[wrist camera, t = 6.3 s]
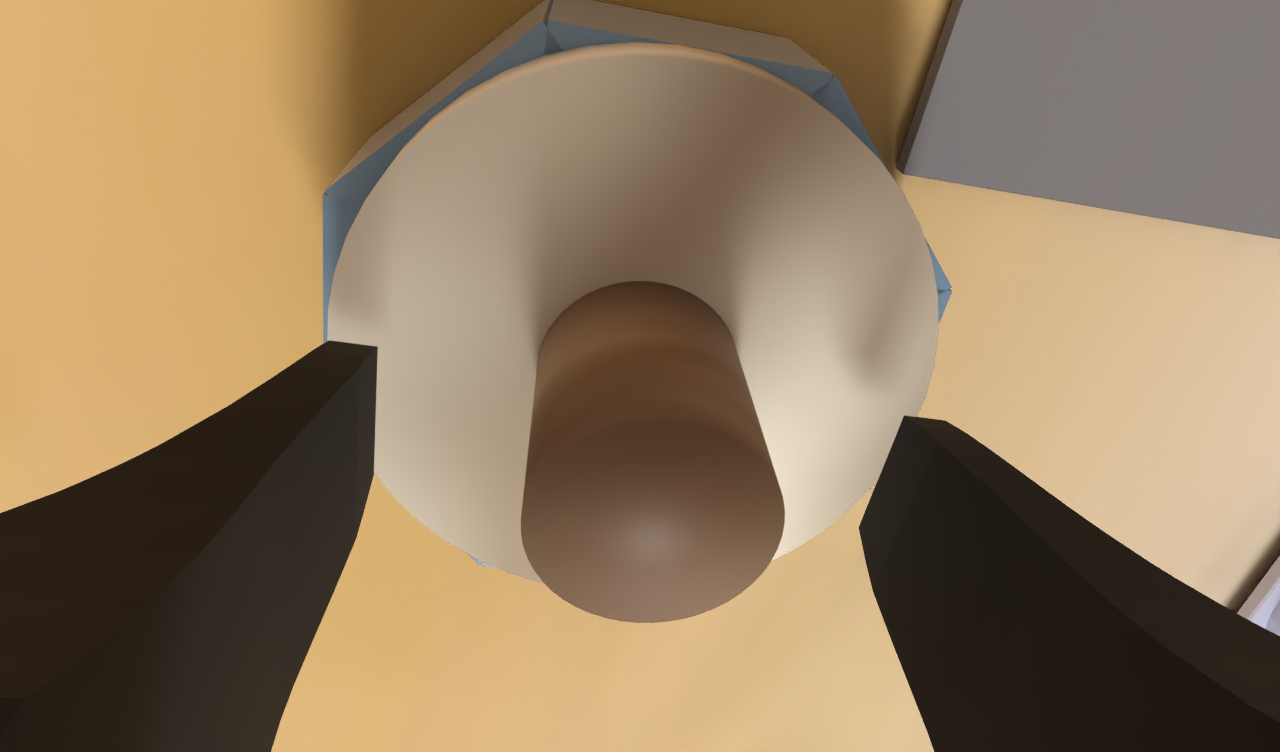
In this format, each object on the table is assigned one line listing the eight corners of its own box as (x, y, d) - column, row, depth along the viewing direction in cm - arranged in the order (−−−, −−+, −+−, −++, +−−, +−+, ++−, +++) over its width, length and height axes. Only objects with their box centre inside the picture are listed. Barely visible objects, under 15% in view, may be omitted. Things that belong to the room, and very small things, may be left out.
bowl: (946, 68, 14) (1025, 108, 12) (795, 503, 19) (828, 599, 17) (374, -43, 13) (321, -23, 11) (362, 454, 18) (324, 551, 15)
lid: (1017, 136, 12) (1221, 256, 8) (799, 587, 16) (864, 806, 12) (378, -42, 10) (254, 3, 7) (322, 508, 15) (228, 732, 11)
